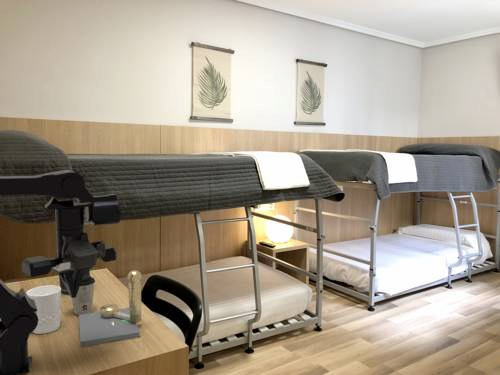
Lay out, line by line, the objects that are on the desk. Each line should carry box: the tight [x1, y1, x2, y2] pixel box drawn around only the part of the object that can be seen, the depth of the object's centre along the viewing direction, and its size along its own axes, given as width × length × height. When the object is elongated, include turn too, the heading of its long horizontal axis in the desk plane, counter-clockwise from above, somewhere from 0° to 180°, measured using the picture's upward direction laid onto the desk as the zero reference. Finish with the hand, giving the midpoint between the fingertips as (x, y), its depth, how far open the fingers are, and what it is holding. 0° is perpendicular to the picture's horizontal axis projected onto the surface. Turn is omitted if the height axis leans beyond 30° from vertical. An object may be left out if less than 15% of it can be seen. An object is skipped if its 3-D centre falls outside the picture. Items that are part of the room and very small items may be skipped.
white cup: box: [26, 284, 62, 335], centre depth 107 cm, size 8×8×10 cm
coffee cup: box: [71, 274, 96, 316], centre depth 118 cm, size 7×7×10 cm
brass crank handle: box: [100, 269, 143, 324], centre depth 110 cm, size 13×4×13 cm, turn 63°
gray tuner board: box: [78, 307, 141, 348], centre depth 108 cm, size 17×14×1 cm
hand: (73, 297), depth 93 cm, fingers closed
